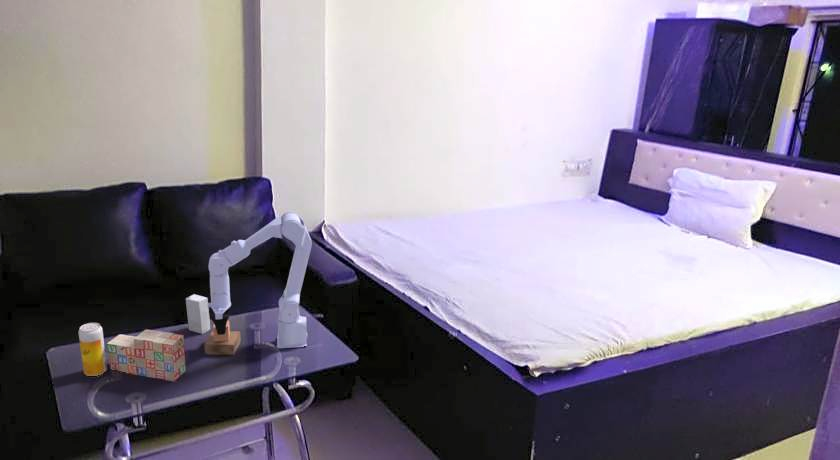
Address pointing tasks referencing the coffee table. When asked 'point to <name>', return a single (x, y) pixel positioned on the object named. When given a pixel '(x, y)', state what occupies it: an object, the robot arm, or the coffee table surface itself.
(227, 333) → the terracotta cube
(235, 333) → the walnut block
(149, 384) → the coffee table surface
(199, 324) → the skincare box
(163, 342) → the stack of blocks
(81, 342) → the beer can
